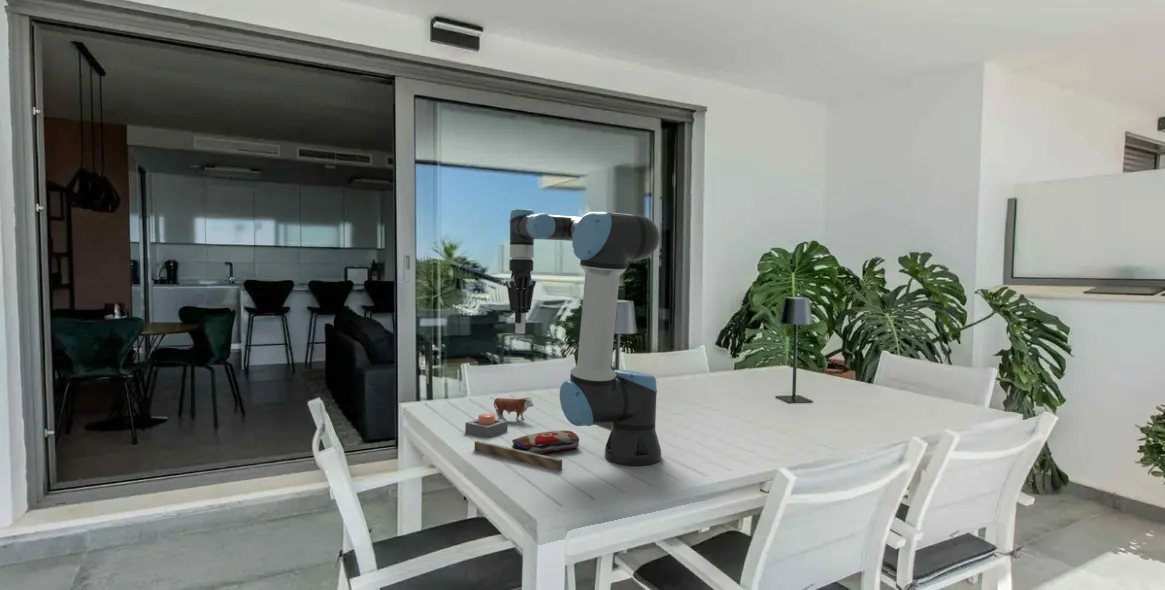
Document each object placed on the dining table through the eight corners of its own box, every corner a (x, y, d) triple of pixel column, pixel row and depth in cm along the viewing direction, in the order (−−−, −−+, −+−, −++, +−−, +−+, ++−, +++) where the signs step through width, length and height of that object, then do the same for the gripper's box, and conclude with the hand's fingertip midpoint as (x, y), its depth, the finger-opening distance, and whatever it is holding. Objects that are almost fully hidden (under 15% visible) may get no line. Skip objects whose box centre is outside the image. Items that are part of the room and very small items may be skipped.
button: (498, 428, 189) (498, 415, 189) (487, 431, 185) (487, 418, 184) (485, 425, 191) (485, 413, 191) (474, 429, 187) (475, 416, 187)
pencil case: (584, 455, 168) (585, 437, 167) (513, 460, 162) (513, 441, 162) (574, 444, 178) (574, 426, 178) (506, 448, 173) (506, 430, 172)
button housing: (507, 430, 190) (507, 421, 189) (488, 437, 182) (488, 427, 182) (485, 426, 194) (485, 416, 194) (465, 432, 187) (465, 422, 186)
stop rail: (561, 469, 155) (562, 459, 155) (559, 470, 154) (559, 460, 154) (477, 449, 170) (477, 440, 170) (474, 450, 169) (474, 441, 169)
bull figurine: (532, 423, 200) (532, 398, 199) (492, 420, 202) (492, 395, 201) (535, 419, 204) (535, 395, 203) (496, 417, 206) (496, 393, 206)
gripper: (524, 259, 202) (523, 330, 203) (498, 258, 191) (497, 334, 192) (543, 259, 198) (541, 332, 199) (518, 258, 187) (516, 336, 188)
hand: (520, 333), depth 195 cm, fingers closed
